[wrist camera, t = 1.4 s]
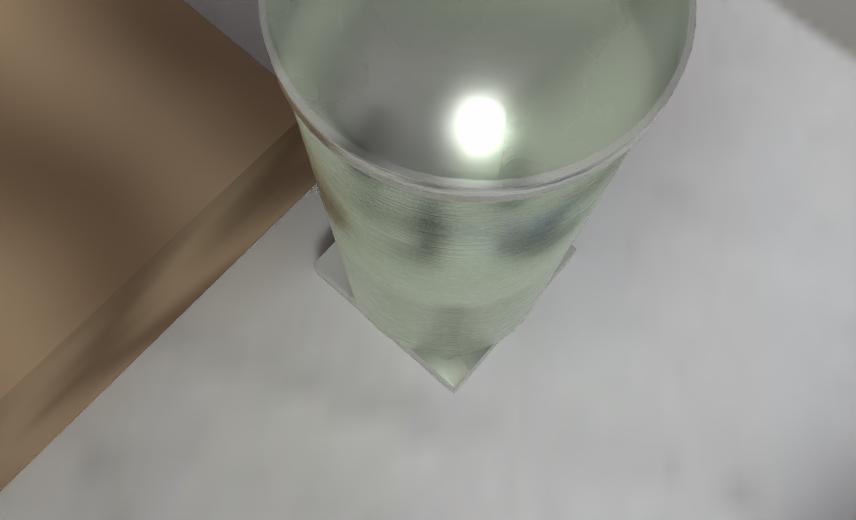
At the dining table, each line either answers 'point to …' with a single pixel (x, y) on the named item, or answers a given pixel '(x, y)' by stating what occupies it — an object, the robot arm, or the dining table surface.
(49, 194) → the walnut block
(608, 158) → the green drinking glass
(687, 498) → the dining table surface
